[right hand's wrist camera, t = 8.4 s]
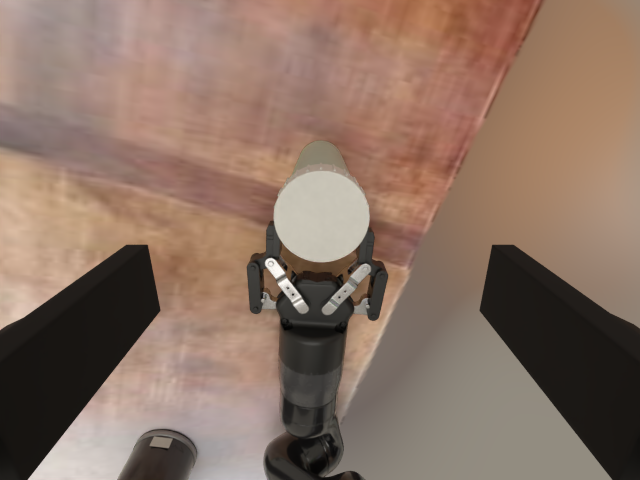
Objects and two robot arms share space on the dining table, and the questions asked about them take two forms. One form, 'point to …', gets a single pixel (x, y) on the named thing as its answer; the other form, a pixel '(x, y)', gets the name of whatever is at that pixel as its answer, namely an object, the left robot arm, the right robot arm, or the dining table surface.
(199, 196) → the dining table surface
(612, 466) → the right robot arm
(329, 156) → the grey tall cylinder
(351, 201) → the lid
